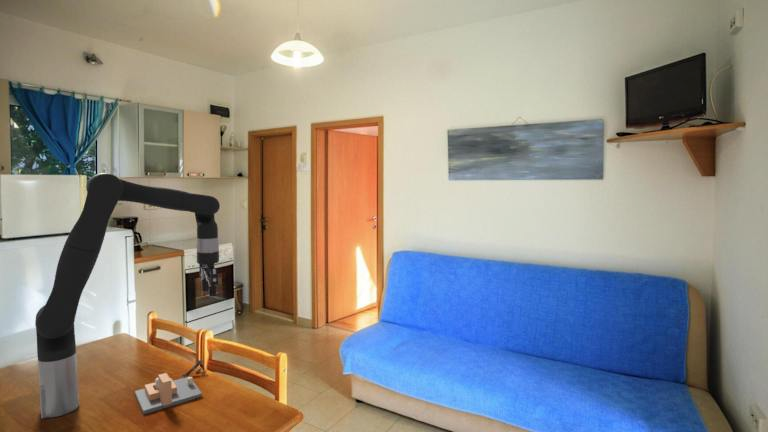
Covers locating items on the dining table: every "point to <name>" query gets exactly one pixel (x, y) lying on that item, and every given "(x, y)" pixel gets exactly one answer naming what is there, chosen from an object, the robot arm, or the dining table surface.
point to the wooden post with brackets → (194, 368)
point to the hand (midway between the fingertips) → (208, 293)
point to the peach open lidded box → (162, 389)
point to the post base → (184, 393)
